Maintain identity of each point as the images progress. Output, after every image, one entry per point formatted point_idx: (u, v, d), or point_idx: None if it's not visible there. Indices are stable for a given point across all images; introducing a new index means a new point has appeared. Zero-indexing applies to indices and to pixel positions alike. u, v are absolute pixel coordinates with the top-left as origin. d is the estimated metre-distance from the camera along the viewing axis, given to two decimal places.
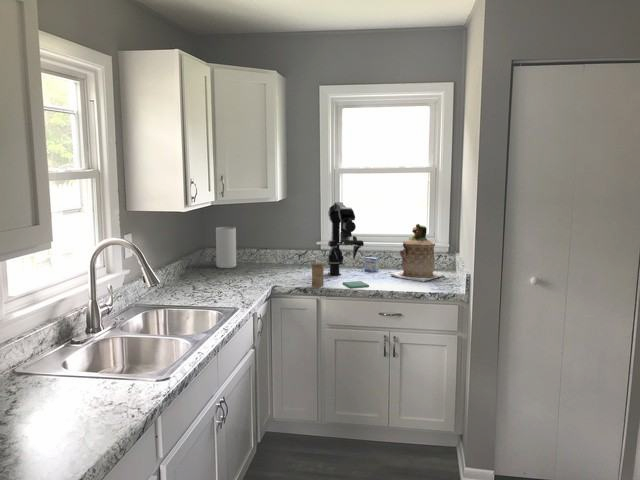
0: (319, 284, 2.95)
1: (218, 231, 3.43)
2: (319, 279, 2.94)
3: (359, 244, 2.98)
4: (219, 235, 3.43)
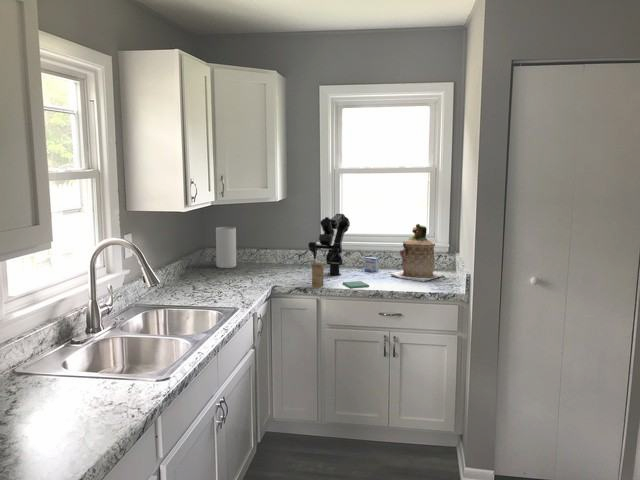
0: (319, 284, 2.95)
1: (218, 231, 3.43)
2: (319, 279, 2.94)
3: (336, 245, 3.04)
4: (219, 235, 3.43)
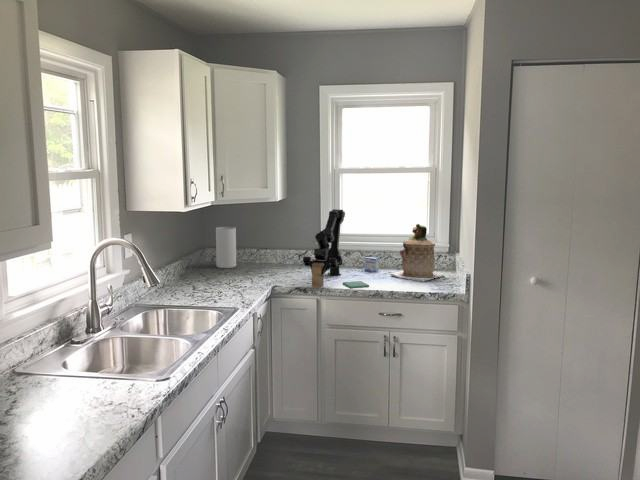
0: (319, 284, 2.95)
1: (218, 231, 3.43)
2: (319, 279, 2.94)
3: (331, 259, 2.96)
4: (219, 235, 3.43)
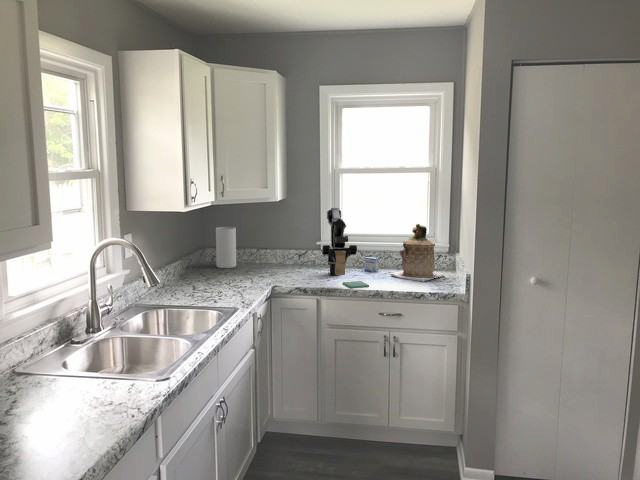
0: (343, 272, 2.94)
1: (218, 231, 3.43)
2: (343, 266, 2.94)
3: (352, 246, 2.98)
4: (219, 235, 3.43)
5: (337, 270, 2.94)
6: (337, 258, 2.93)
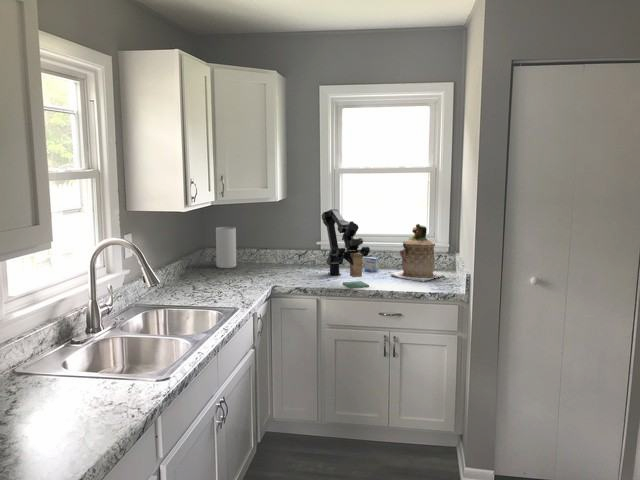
0: (360, 273, 2.98)
1: (218, 231, 3.43)
2: (360, 268, 2.98)
3: (366, 248, 3.02)
4: (219, 235, 3.43)
5: (355, 272, 2.97)
6: (355, 260, 2.96)
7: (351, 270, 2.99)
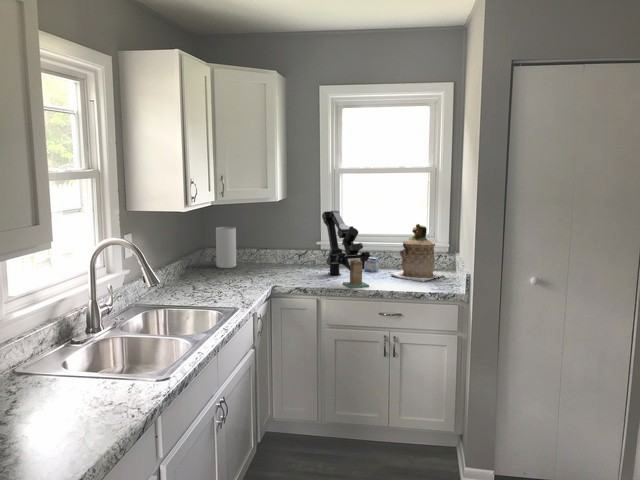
0: (360, 281, 2.99)
1: (218, 231, 3.43)
2: (360, 276, 2.98)
3: (366, 253, 3.03)
4: (219, 235, 3.43)
5: (355, 280, 2.97)
6: (355, 268, 2.96)
7: (351, 278, 3.00)
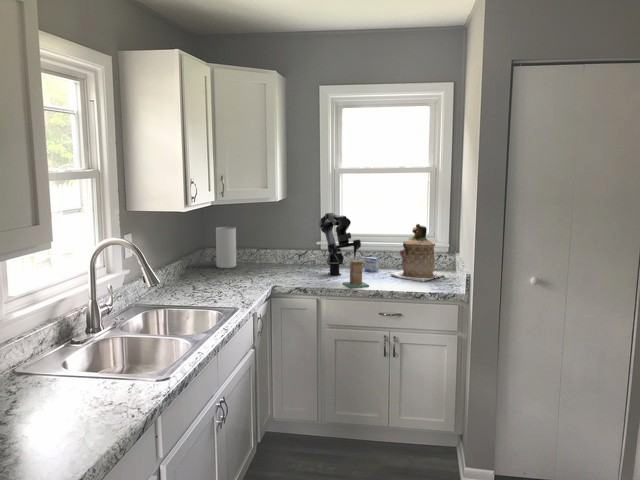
0: (360, 281, 2.99)
1: (218, 231, 3.43)
2: (360, 276, 2.98)
3: (356, 242, 3.08)
4: (219, 235, 3.43)
5: (355, 280, 2.97)
6: (355, 268, 2.96)
7: (351, 278, 3.00)
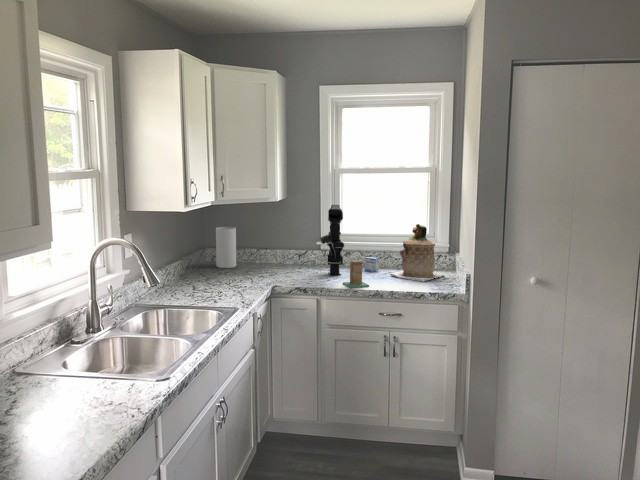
0: (360, 281, 2.99)
1: (218, 231, 3.43)
2: (360, 276, 2.98)
3: (332, 245, 3.04)
4: (219, 235, 3.43)
5: (355, 280, 2.97)
6: (355, 268, 2.96)
7: (351, 278, 3.00)
